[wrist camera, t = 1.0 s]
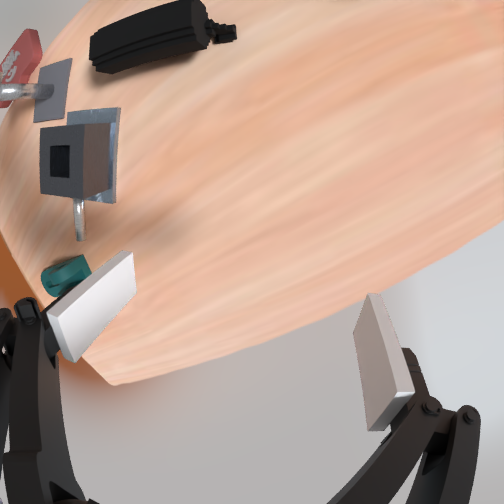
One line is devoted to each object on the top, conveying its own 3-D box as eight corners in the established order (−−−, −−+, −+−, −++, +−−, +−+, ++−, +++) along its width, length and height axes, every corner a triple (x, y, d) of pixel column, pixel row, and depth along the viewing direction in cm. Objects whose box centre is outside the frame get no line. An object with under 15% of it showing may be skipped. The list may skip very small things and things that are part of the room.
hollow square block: (71, 112, 37) (39, 113, 30) (120, 107, 36) (89, 106, 29) (71, 227, 46) (44, 242, 39) (117, 237, 45) (90, 255, 38)
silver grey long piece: (47, 76, 34) (-8, 75, 21) (56, 73, 34) (-1, 71, 20) (43, 108, 37) (-13, 114, 24) (52, 107, 36) (-7, 112, 23)
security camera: (238, 54, 31) (219, 31, 22) (124, 79, 34) (84, 71, 25) (236, 15, 28) (217, -15, 19) (125, 43, 31) (87, 29, 22)
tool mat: (42, 68, 34) (40, 68, 33) (72, 58, 33) (70, 58, 32) (35, 122, 39) (33, 122, 38) (64, 118, 38) (61, 118, 37)
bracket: (83, 254, 49) (58, 271, 42) (97, 283, 51) (75, 303, 44) (43, 269, 53) (22, 284, 46) (55, 294, 56) (35, 310, 48)
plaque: (-3, 120, 36) (-10, 78, 32) (9, 119, 39) (0, 78, 35) (34, 64, 30) (26, 24, 26) (47, 66, 34) (37, 26, 30)
